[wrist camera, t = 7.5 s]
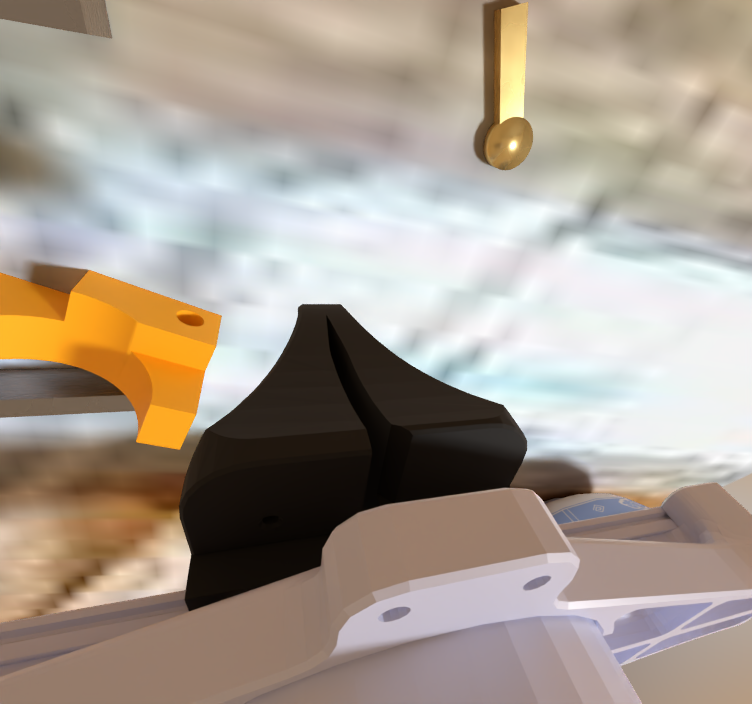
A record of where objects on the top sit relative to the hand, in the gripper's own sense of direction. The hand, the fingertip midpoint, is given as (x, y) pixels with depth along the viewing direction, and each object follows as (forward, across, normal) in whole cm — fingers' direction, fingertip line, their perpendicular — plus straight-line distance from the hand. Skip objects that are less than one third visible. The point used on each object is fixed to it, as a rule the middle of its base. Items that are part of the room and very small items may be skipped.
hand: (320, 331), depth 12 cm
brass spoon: (+10, -10, -8) cm, 16 cm away
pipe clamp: (+10, +11, +5) cm, 16 cm away
